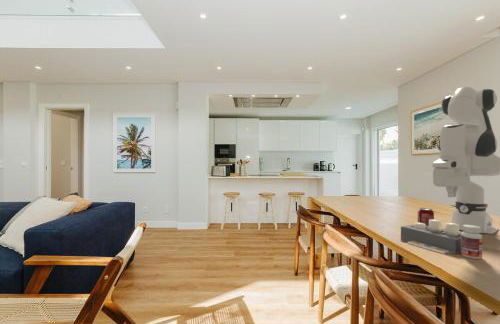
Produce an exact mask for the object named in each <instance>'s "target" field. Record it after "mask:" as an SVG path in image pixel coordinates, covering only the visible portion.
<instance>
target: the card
mask: <svg viewBox="0 0 500 324" xmlns="http://www.w3.org/2000/svg"><path fill="white" fill-rule="evenodd" d="M407 244H408V245H412V246H415V247H419V248H421V249H422V248H423V249H426V250H429V251H433V252H437V253H438V254H443V255H445V254H447V253H448V254H449V253H450V252H449V251H448V250H444V249H441V248H437V247H434V246H430V245H427V244H423V243H420V242H416V241H408V242H407Z"/></svg>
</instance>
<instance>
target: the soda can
mask: <svg viewBox="0 0 500 324" xmlns="http://www.w3.org/2000/svg"><path fill="white" fill-rule="evenodd" d="M430 219H433V220H435V212H434V211H433V208H429V207H419V209H418V210H417V222H418V223H424V224H425V225H427V226H429V220H430Z"/></svg>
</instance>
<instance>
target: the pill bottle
mask: <svg viewBox="0 0 500 324" xmlns="http://www.w3.org/2000/svg"><path fill="white" fill-rule="evenodd" d="M463 230H464V231H463ZM463 230H462V232H460V233H461V253H460V254H461V255H462V256H463V257H465V258H468V259H472V260H473V259H474V260H481V259H483V235H482V233H480V232H481V228H480V227H478V226H474V225H463Z"/></svg>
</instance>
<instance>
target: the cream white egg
mask: <svg viewBox="0 0 500 324" xmlns="http://www.w3.org/2000/svg"><path fill="white" fill-rule="evenodd" d="M441 229H442V220H440V219H439V220H438V219H434V220H433V219H430V220H429V231H432V232H436V233H441Z"/></svg>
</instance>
